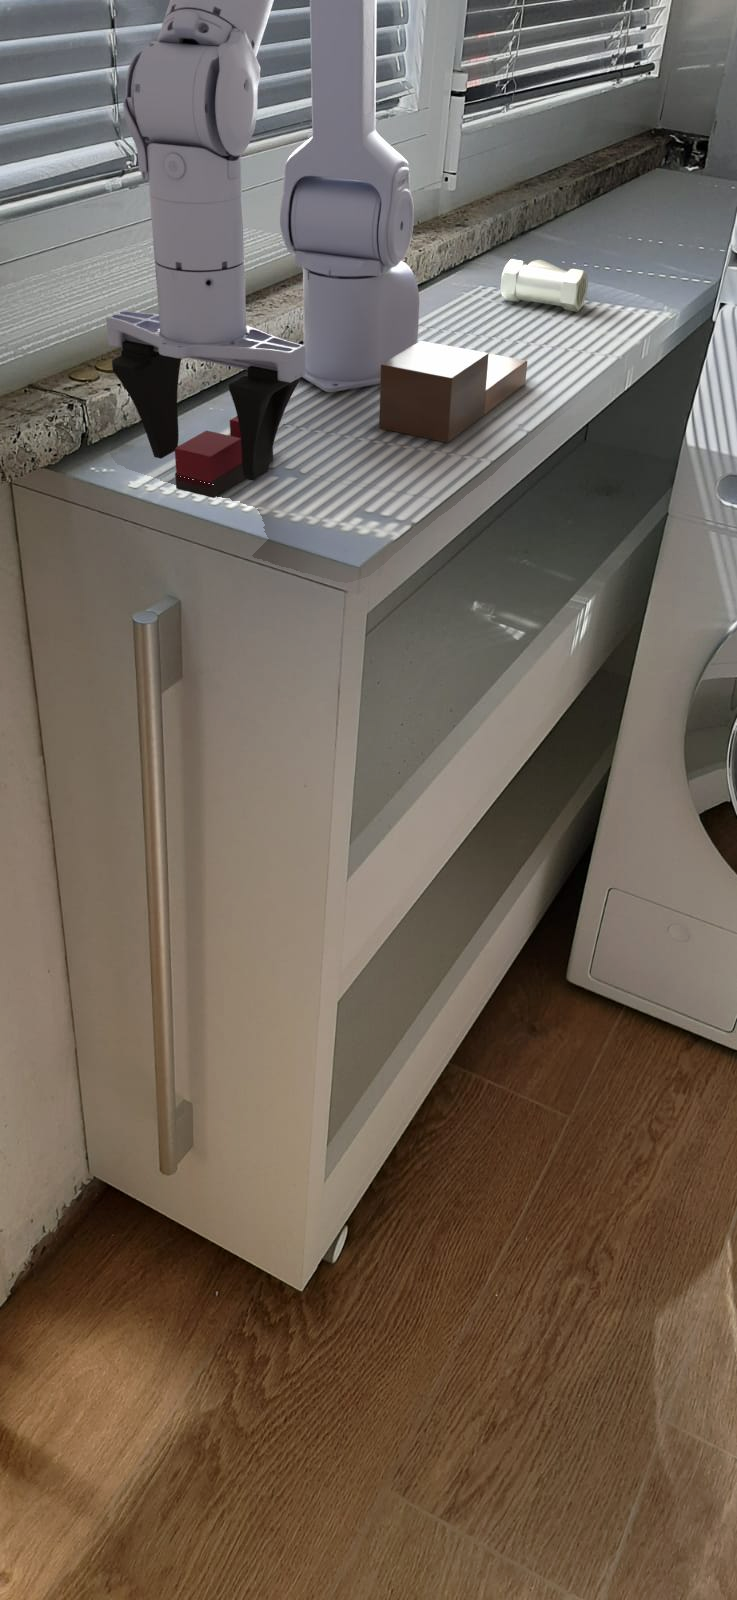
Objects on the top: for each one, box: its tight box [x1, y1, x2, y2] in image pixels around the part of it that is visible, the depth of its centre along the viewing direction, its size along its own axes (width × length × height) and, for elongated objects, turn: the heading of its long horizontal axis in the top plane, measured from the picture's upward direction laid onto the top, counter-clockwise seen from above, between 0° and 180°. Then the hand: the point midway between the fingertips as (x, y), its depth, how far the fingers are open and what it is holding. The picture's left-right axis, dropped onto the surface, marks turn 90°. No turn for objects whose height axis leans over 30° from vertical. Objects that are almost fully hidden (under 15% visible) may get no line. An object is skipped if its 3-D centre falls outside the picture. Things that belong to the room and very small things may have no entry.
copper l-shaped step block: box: [378, 340, 528, 444], centre depth 102 cm, size 16×6×5 cm, turn 152°
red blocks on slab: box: [174, 415, 274, 499], centre depth 90 cm, size 8×3×3 cm, turn 152°
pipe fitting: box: [500, 258, 589, 313], centre depth 128 cm, size 8×4×7 cm
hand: (210, 464), depth 89 cm, fingers open, 7 cm apart
